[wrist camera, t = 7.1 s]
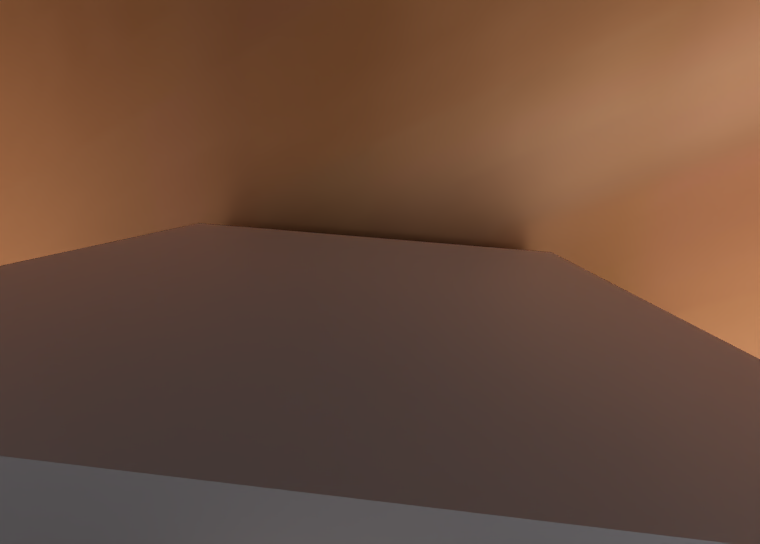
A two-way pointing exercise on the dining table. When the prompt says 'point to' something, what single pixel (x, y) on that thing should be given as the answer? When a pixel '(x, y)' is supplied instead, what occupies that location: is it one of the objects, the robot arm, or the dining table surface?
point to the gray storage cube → (361, 399)
